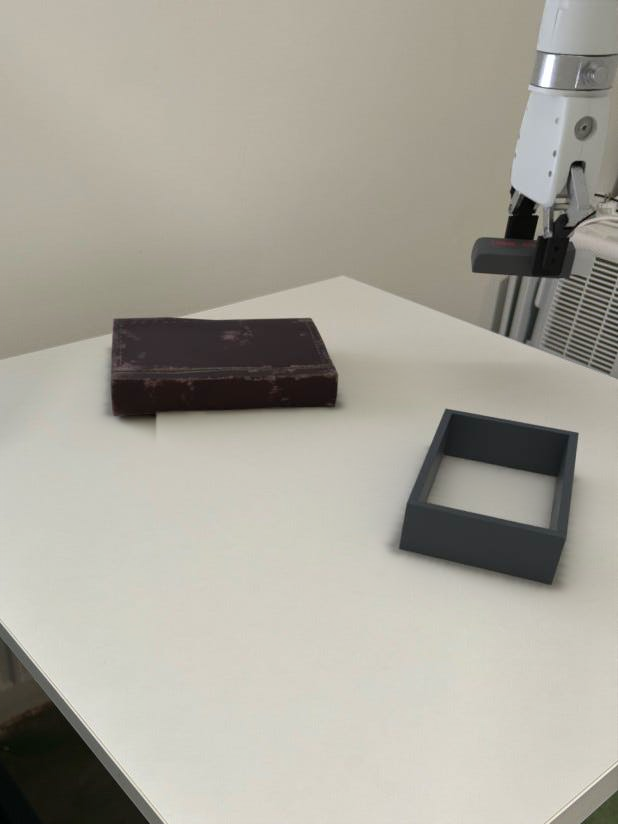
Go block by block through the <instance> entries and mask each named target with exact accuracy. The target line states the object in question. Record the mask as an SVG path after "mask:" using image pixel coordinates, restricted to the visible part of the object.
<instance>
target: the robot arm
mask: <svg viewBox="0 0 618 824" xmlns="http://www.w3.org/2000/svg"><path fill="white" fill-rule="evenodd" d="M617 71H618V0H545V2H544V7H543V13H542V18H541V22H540V28H539V33H538V39H537V43H536V49H535V53H534V57H533V61H532V67H531V72H530V77H529V82H528V88H527V90H528V91H530V94H529V97H528V100H527V104H526V107H525V111H524V114H523V118H522V121H521V125H520V129H519V132H518V137H517V142H516V145H515V150H514V154H513V160H512V164H511V168H510V171H509V177H510V184H511V186H510V189H509V194H510V202H509V204H508V208H507V212H508V218H507V222H506V226H505V232H504V236H503V238H508V239H524V240H535V236H536V232H537V227H538V224H539V223H538V222H539V217H540V216H539V215H538V214H536V213H537V212H538V208H539V207H540V206H541V207H543V209H542V235H537V238H536V240H537V242H536V247H535V251H534V255H533V260H532V264H531V269H530V274H531V275H532V276H534V277H533V278H538V277H537V276H558V275H560V274H561V272H562V268H563V264H564V260H565V256H566V252H567V248H568V244H569V241H570V239H571V238H573V237H574V235H575V231H576V228H577V227H579V225H580V224H581V221H582V220H583V218H584V217H585V216H586V215H587V214H588V213H589V211H590V208H591V204H592V202H593V200H594V197H595V194H596V190H597V186H598V182H599V178H600V173H601V167H602V163H603V158H604V154H605V147H606V143H607V142H606V141H607V137H608V130H609V124H610V116H611V115H610V114H611V102H612V101H611V100H612V96H610V95H611V94H612V91H613V86H614V83H615V78H616V76H617ZM556 199H565V202H557V201H556ZM555 212H563V213H561V214H560V215H559V216H558V217H557V218H556V219H555Z"/></svg>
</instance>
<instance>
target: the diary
mask: <svg viewBox="0 0 618 824" xmlns="http://www.w3.org/2000/svg"><path fill="white" fill-rule="evenodd" d="M110 353H111V355H110V356H111V357H110V394H111V395H110V396H111V399H110V400H111V409H112V410H111V411H112V416H113V417H119V416H121V417H122V416H137V415H153V414H154V415H155V414H157V412H158V413H159V412H160V413H161V412H186V411H187V412H189V411H192V412H193V411H233V410H235V411H236V410H255V409H256V410H258V409H281V408H331V407H332V408H334V407H336V405H337V397H338V388H339V387H338V386H339V373H338V371H337V369H336V366H335V365H334V363H333V360H332V358H331V356H330V354H329V352H328V349H327V347H326V344H325V341H324V339H323V337H322V335H321V332H320V331H319V329H318V326H317V325H316V324H315V321H314V320H313V318H312V317H282V318H279V317H277V318H240V319H239V318H237V319H236V318H235V319H208V318H188V317H173V316H158V317H155V316H153V317H124V318H123V317H121V318H119V317H117V318H113V319H112V331H111V352H110Z"/></svg>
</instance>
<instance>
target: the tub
mask: <svg viewBox="0 0 618 824" xmlns="http://www.w3.org/2000/svg"><path fill="white" fill-rule="evenodd" d="M578 443H579V432H577V431H572V430H566V429H562V428H555V427H550V426H545V425H538V424H533V423H528V422H522V421H517V420H511V419H505V418H500V417H496V416H489V415H484V414H478V413H472V412H468V411H463V410H462V411H461V410H456V409H451V408H445V409H444V411H443V414H442V416H441V418H440V421H439V423H438V425H437V428H436V431H435V433H434V435H433V438H432V440H431V443H430V445H429V448H428V450H427V452H426V455H425V458H424V459H423V462H422V465H421V466H420V470H419V472H418V475H417V477H416V480H415V482H414V484H413V486H412V489H411V492H410V495H409V497H408V499H407V502H406V504H405V509H404V510H405V511H404V516H403V522H402V528H401V532H400V533H401V534H400V538H399V539H400V540H399V545H398V550H402V551H406V552H410V553H414V554H418V555H423V556H427V557H430V558H435V559H439V560H443V561H448V562H451V563H456V564H461V565H464V566H469V567H473V568H476V569H482V570H486V571H490V572H494V573H498V574H502V575H507V576H510V577H515V578H519V579H524V580H528V581H532V582H537V583H541V584H545V585H550V586H552V584H553V581H554V578H555V575H556V571H557V569H558V566H559V562H560V559H561V556H562V554H563V551H564V547H565V544H566V540H567V536H568V528H569V519H570V511H571V503H572V495H573V486H574V476H575V469H576V459H577V451H578ZM444 456H448V457H452V458H459V459H463V460H468V461H474V462H478V463H483V464H488V465H493V466H499V467H504V468H507V469H512V470H513V469H514V470H519V471H524V472H529V473H534V474H538V475H543V476H548V477H554V478H556V481H555V487H554V494H553V500H552V505H551V513H550V521H549V528H546V527H542V526H537V525H532V524H529V523H528V524H527V523H523V522H518V521H515V520H510V519H504V518H500V517H496V516H491V515H486V514H482V513H478V512H473V511H469V510H468V511H467V510H464V509H458V508H455V507H449V506H445V505H442V504H441V505H440V504H435V503H432V502H427V501H428V498H429V496H430V493H431V490H432V488H433V486H434V482H435V480H436V477H437V475H438V471H439V469H440V466H441V464H442V462H443V458H444Z"/></svg>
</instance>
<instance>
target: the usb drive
mask: <svg viewBox="0 0 618 824" xmlns="http://www.w3.org/2000/svg"><path fill="white" fill-rule="evenodd" d="M536 242H537V239H534V240H524V239H508V238H504V237H488V236H482V237H479V238H477V239H475V242H474V243H473V246H472V249H471V254H470V262H471V272H472V273H474V274H483V275H485V274H486V275H500V276H514V277H527V278H529V277H530V278H535V277H534V276H532V275H531V274H530V269H531V264H532V260H533V255H534V251H535V247H536ZM595 260H596V259H595V256H594V254H593V252H592V250H591V249H587V248H576V246H575V243H574V242H573V241H572V240H571V241H570V240H569V244H568V248H567V252H566V256H565V260H564V264H563V268H562V272H561V274H560V275H558V276H537V277H536V278H542V279H557V280H559V279H569V278H571V275H575V276H589V277H590V276H591V274H592V270H593V266H594V263H595Z"/></svg>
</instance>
